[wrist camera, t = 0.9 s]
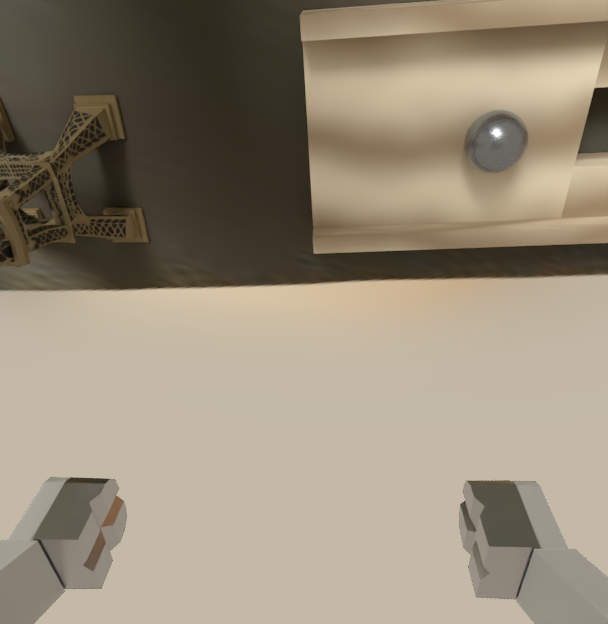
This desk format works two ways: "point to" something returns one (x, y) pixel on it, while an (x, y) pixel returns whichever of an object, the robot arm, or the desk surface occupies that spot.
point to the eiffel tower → (60, 186)
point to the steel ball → (496, 141)
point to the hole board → (452, 123)
